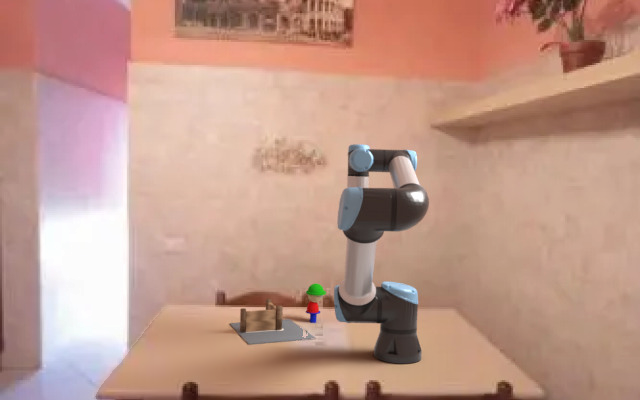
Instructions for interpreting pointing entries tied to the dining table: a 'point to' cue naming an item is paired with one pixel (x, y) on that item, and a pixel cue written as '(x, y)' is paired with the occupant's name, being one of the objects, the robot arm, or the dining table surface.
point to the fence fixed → (278, 313)
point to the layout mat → (273, 333)
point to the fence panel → (257, 320)
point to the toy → (314, 300)
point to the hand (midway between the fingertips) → (355, 256)
